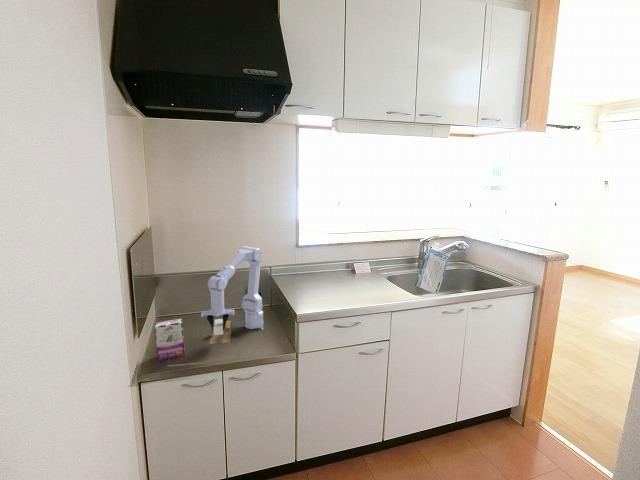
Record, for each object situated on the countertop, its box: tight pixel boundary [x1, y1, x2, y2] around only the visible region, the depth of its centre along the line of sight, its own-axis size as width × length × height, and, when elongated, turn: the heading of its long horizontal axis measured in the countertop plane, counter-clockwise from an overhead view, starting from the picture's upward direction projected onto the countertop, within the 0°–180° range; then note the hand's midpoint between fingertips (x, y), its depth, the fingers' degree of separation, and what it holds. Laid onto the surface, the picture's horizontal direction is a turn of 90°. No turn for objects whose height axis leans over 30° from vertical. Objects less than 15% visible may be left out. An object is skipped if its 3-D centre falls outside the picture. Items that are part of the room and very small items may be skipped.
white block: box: [213, 318, 224, 335], centre depth 156 cm, size 4×8×4 cm, turn 12°
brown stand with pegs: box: [209, 327, 232, 345], centre depth 164 cm, size 10×11×5 cm
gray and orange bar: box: [225, 320, 246, 329], centre depth 167 cm, size 10×2×3 cm, turn 102°
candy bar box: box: [154, 317, 186, 362], centre depth 147 cm, size 11×5×16 cm, turn 114°
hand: (218, 329), depth 154 cm, fingers closed on white block, 4 cm apart
